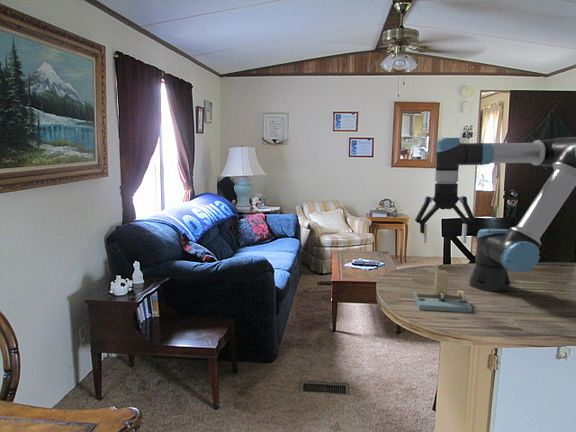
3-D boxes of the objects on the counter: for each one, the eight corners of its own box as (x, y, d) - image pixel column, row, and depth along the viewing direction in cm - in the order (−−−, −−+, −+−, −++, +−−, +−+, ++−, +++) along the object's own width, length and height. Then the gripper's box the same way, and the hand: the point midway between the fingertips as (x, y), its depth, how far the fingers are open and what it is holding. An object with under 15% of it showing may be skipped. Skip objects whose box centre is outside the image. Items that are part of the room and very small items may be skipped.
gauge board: (461, 298, 166) (462, 287, 165) (471, 312, 152) (472, 300, 151) (413, 296, 168) (413, 285, 167) (419, 309, 154) (419, 297, 153)
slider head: (444, 294, 163) (445, 270, 162) (447, 300, 157) (449, 275, 156) (433, 294, 164) (435, 270, 163) (437, 299, 158) (438, 274, 156)
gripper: (479, 181, 162) (477, 240, 165) (408, 181, 164) (406, 239, 167) (487, 183, 154) (483, 244, 158) (411, 183, 156) (410, 244, 160)
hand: (444, 242), depth 162 cm, fingers open, 13 cm apart
